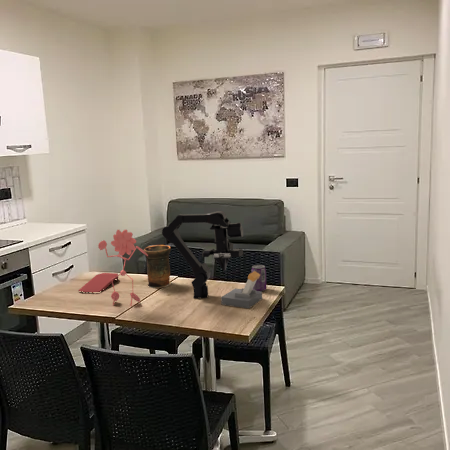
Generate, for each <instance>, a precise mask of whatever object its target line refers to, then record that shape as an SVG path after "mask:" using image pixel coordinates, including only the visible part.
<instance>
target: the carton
mask: <svg viewBox="0 0 450 450" xmlns="http://www.w3.org/2000/svg"><path fill="white" fill-rule="evenodd" d="M117 275H119V274H118V272H117V273H114V272H102V273H101V272H100V273H98V274H96V275H94V276H93V277H92V278H91V279H90V280H88V281H87V282H86V283H84V285H82V287H81V288H79V289H78V292H79V291H81V292H82V291H83V292H100V291H102V290H103V289H104V290H106V289H107V288H108V287H109V286H110V285H112V281H113V282H114V281H115V279H118V278H119V276H117ZM116 276H117V277H116ZM114 277H116V278H114ZM113 278H114V279H113ZM111 280H112V281H111ZM104 290H103V291H104ZM103 291H102V292H103Z"/></svg>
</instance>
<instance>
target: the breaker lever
mask: <svg viewBox="0 0 450 450" xmlns="http://www.w3.org/2000/svg"><path fill="white" fill-rule="evenodd" d="M259 277H260V274H259V273H257V272H256V271H254V272H252V271H251V272H250V273H249V274H248V276H247V281H246V283H245V285H244V286H243V288H244V289H243V291H242V293H243V294H250V293H251V291H252V290H253V287H254V285H255V283H256V281H257V279H259Z"/></svg>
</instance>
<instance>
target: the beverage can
mask: <svg viewBox="0 0 450 450" xmlns="http://www.w3.org/2000/svg"><path fill="white" fill-rule="evenodd" d="M254 271H256V272H257V273H259V274H260V277H259V279H257V281H256V283H255V285H254V287H253V289H252V290H256V291H261V292H263V291H266V290H267V270H266V266H265V265H263V264H255V265H252V266H251V273H252V272H254Z"/></svg>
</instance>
